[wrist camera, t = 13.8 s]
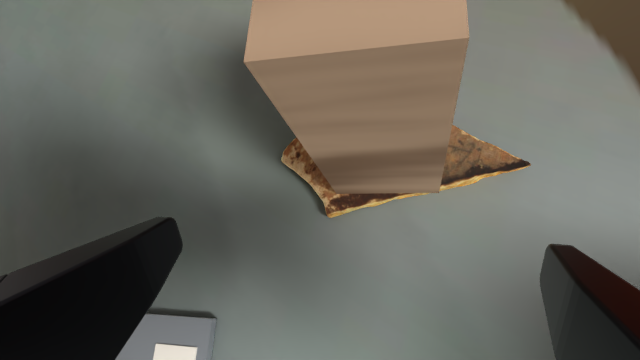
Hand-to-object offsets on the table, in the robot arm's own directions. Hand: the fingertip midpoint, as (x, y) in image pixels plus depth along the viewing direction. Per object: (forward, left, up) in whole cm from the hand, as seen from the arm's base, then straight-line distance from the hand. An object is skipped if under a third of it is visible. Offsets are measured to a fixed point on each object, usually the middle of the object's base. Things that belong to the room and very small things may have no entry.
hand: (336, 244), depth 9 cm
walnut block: (+6, -1, -9) cm, 11 cm away
